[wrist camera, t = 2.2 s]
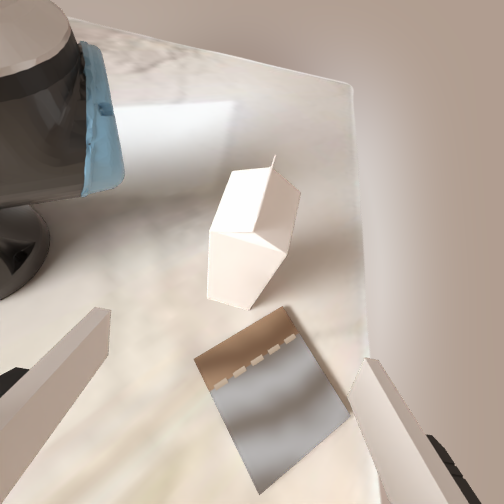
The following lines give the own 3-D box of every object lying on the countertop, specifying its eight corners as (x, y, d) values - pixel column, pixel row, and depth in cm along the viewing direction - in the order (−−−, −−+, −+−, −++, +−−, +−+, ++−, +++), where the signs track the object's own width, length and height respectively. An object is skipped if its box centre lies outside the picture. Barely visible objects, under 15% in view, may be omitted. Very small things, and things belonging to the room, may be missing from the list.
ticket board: (194, 359, 33) (193, 359, 31) (280, 308, 37) (282, 306, 36) (257, 490, 28) (259, 495, 27) (346, 414, 33) (351, 416, 32)
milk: (259, 271, 39) (318, 164, 19) (248, 311, 36) (305, 235, 16) (218, 259, 39) (237, 138, 19) (205, 299, 36) (210, 205, 16)
